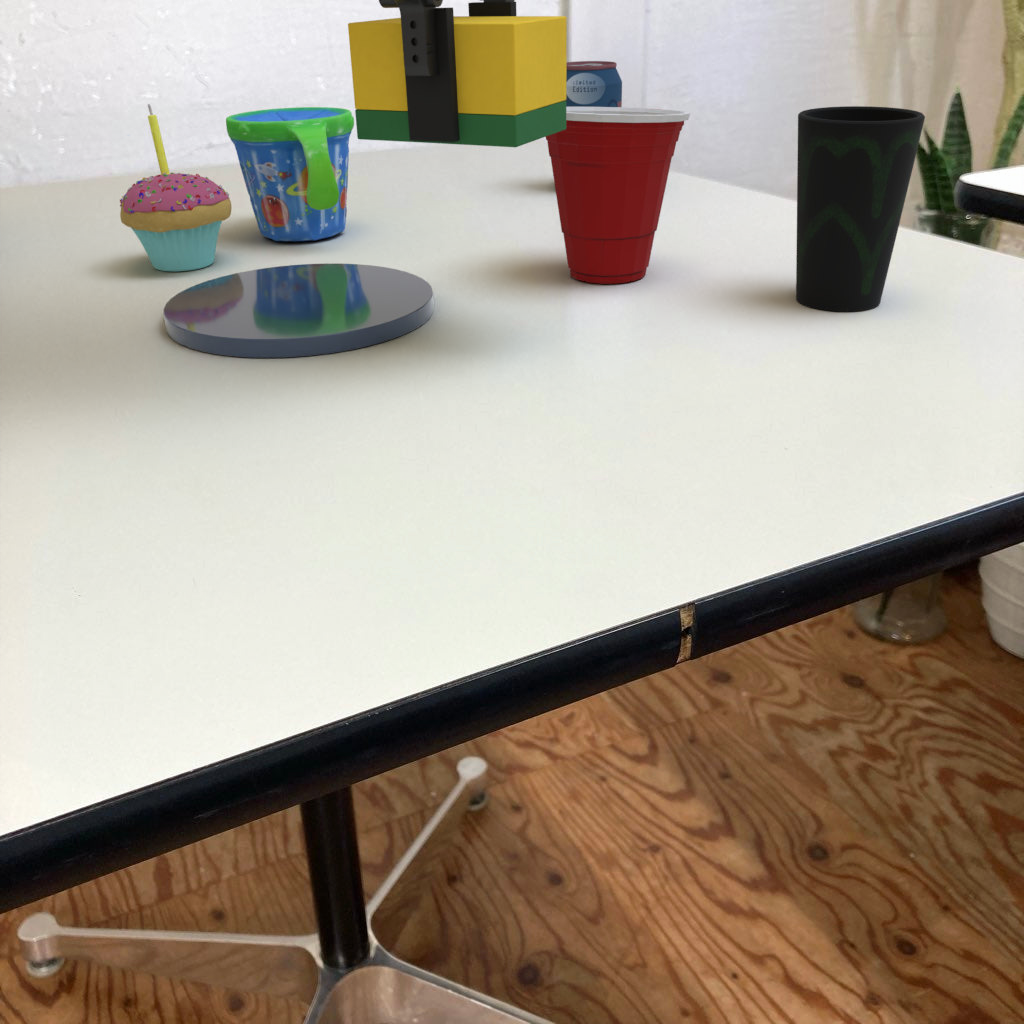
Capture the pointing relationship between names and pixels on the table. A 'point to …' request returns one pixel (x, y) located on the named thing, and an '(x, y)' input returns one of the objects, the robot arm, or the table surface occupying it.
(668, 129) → the plastic cup
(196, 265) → the cupcake
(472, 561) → the table surface
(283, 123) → the snack cup
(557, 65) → the sponge
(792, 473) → the table surface
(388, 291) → the plate
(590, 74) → the soda can
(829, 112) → the cup
